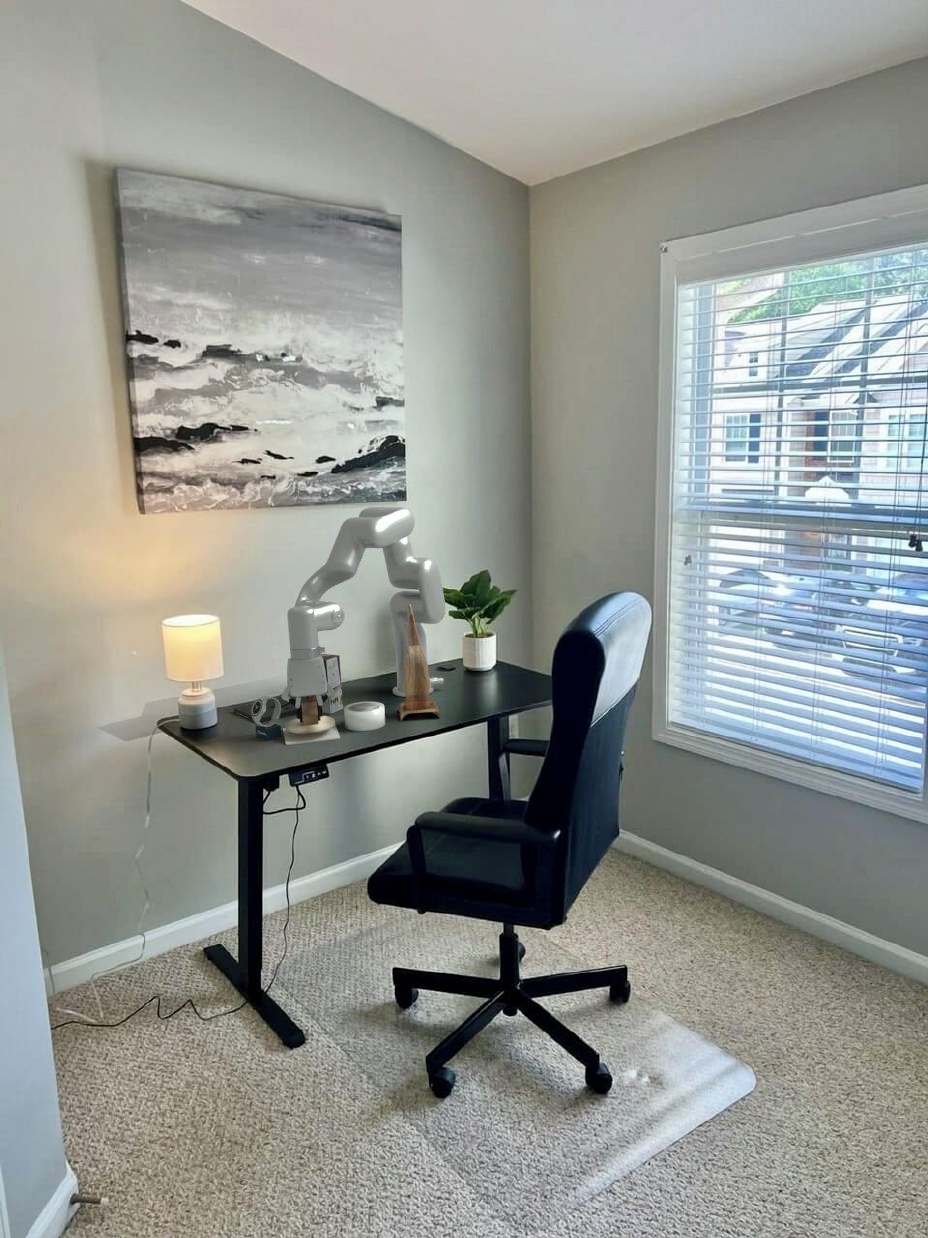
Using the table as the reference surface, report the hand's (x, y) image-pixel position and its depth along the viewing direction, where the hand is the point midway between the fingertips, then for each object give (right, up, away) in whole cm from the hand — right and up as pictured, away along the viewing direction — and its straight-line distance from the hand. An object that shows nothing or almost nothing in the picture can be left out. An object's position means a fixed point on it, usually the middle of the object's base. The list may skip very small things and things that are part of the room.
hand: (309, 719), depth 238 cm
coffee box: (0, 0, +23) cm, 23 cm away
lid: (0, -2, 0) cm, 2 cm away
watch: (-11, -5, 0) cm, 12 cm away
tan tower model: (+28, 0, +15) cm, 32 cm away
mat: (0, -4, +1) cm, 4 cm away
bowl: (+14, -2, +7) cm, 16 cm away
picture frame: (-14, -1, +25) cm, 29 cm away
